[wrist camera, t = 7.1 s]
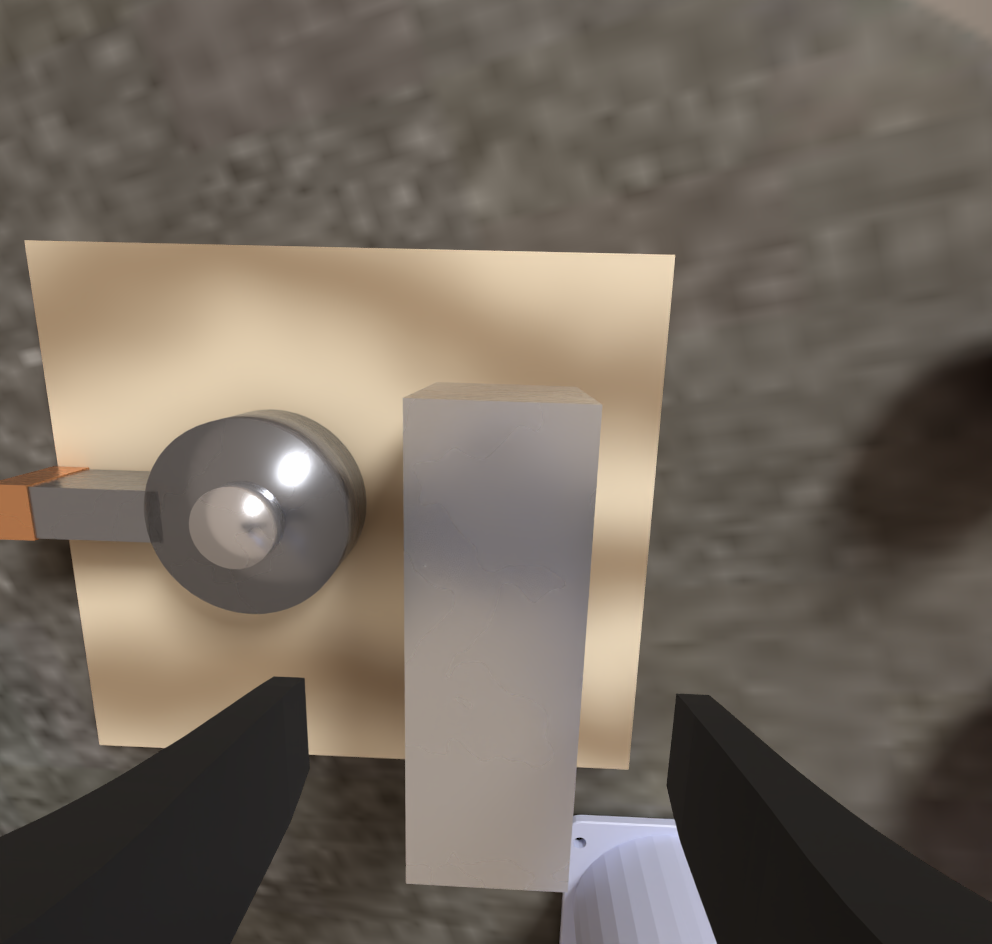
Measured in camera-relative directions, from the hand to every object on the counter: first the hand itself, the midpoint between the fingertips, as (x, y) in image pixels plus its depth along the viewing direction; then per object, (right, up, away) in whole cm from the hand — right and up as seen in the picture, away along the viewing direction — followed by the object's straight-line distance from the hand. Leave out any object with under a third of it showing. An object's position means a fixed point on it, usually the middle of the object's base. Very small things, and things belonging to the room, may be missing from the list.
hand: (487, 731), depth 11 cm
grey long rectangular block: (0, +2, +7) cm, 7 cm away
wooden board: (-5, +3, +10) cm, 11 cm away
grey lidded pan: (-9, +4, +8) cm, 13 cm away
